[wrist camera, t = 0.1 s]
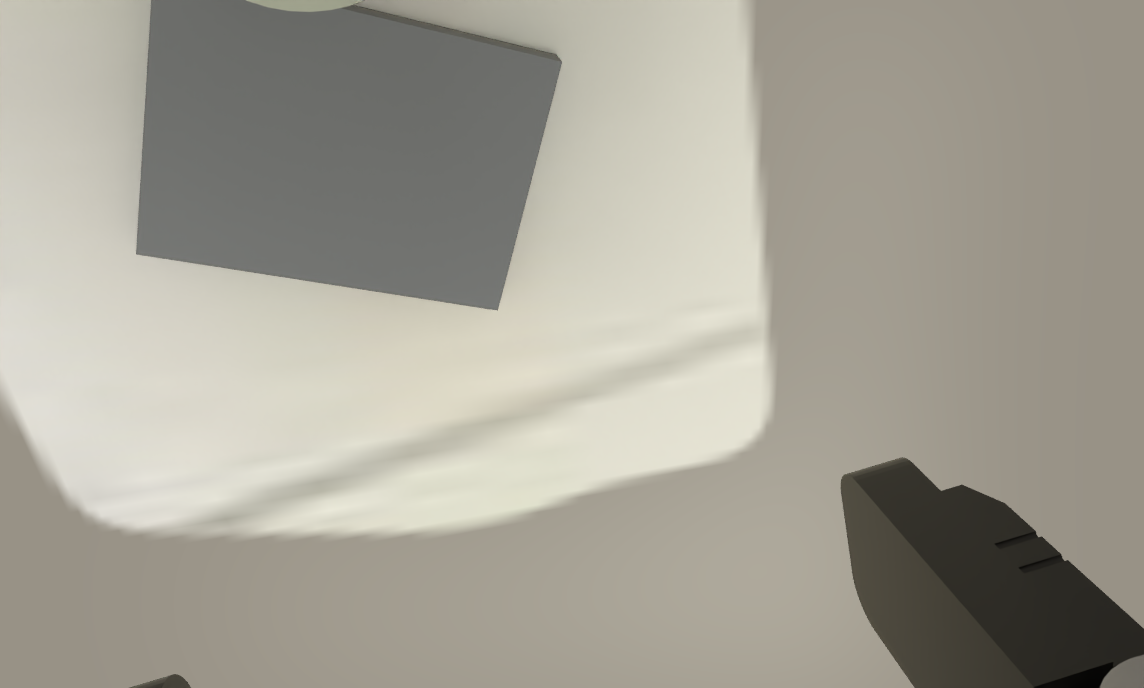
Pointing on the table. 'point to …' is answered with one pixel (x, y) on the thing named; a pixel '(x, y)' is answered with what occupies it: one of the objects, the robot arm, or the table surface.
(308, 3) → the canister
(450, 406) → the table surface
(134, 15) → the table surface
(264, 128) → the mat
